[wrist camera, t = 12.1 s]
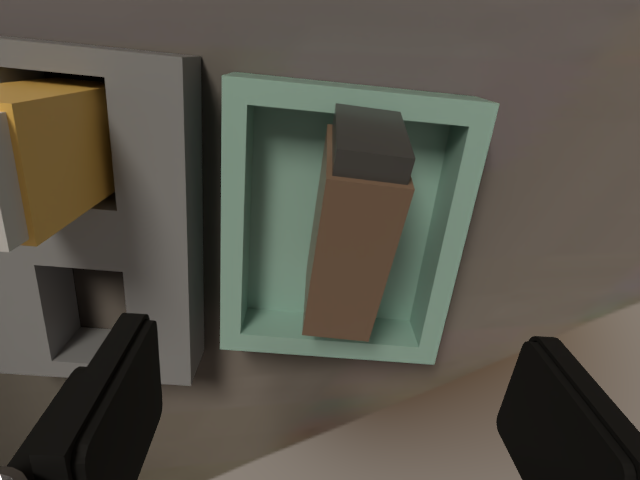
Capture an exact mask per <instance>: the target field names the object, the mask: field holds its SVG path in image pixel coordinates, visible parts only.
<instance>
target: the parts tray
mask: <svg viewBox="0 0 640 480" xmlns="http://www.w3.org/2000/svg"><path fill="white" fill-rule="evenodd" d="M336 103H338V104H346V105H353V106H361V107H368V108H376V109H383V110H391V111H398V112H401V115H402V118H403V121H404V124H405V127H406V130H407V134H408V137H409V140H410V143H411V146H412V149H413V152H414V155H415V158H416V159H415V163H414V166H413V170H412V173H411V178H412V181H413V185H414V188H415V191H414V194H413V197H412V201H411V204H410V207H409V211H408V214H407V217H406V220H405V224H404V227H403V230H402V234H401V237H400V240H399V243H398V247H397V250H396V253H395V257H394V260H393V263H392V266H391V270H390V273H389V276H388V280H387V283H386V286H385V290H384V293H383V296H382V299H381V303H380V306H379V309H378V313H377V316H376V319H375V322H374V326H373V329H372V332H371V336H370V339H369V342H366V341H356V340H346V339H336V338H326V337H316V336H306V335H302V328H303V313H304V299H305V284H306V270H307V262H308V255H309V248H310V241H311V234H312V227H313V220H314V213H315V206H316V200H317V193H318V186H319V179H320V172H321V165H322V158H323V151H324V144H325V137H326V130H327V124H332V125H333V119H334V112H335V105H336ZM499 104H500V103H496V102H493V101H489V100H486V99H482V98H479V97H475V96H467V95H457V94H447V93H438V92H428V91H418V90H408V89H398V88H389V87H379V86H369V85H359V84H349V83H340V82H330V81H320V80H310V79H300V78H291V77H281V76H271V75H261V74H251V73H242V72H232V73H229V74H225V75H222V126H221V275H220V349H223V350H237V351H251V352H265V353H279V354H293V355H306V356H320V357H334V358H348V359H362V360H376V361H390V362H404V363H418V364H432V365H434V364H435V360H436V356H437V352H438V348H439V344H440V340H441V336H442V332H443V328H444V324H445V320H446V316H447V312H448V308H449V304H450V300H451V296H452V292H453V288H454V284H455V280H456V276H457V272H458V268H459V264H460V260H461V256H462V252H463V248H464V244H465V240H466V236H467V232H468V228H469V224H470V220H471V216H472V212H473V208H474V204H475V200H476V196H477V192H478V188H479V184H480V180H481V176H482V172H483V168H484V164H485V160H486V156H487V152H488V148H489V144H490V140H491V136H492V132H493V128H494V124H495V120H496V116H497V112H498V108H499Z"/></svg>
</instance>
